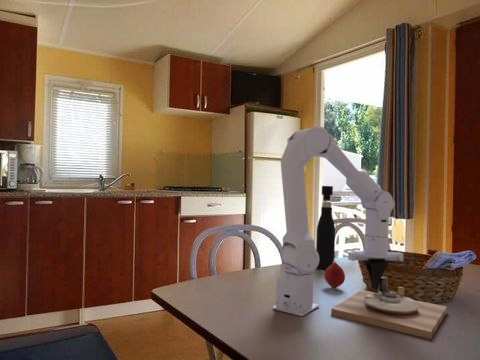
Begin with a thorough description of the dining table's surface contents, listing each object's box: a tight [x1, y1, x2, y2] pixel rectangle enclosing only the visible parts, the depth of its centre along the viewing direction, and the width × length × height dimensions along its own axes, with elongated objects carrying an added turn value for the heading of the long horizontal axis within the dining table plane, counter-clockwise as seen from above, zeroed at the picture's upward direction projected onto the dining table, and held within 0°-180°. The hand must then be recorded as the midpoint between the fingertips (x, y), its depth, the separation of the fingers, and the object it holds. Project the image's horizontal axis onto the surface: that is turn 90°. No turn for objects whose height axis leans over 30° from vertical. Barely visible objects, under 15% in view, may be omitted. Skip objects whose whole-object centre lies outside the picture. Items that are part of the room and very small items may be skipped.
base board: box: [331, 286, 448, 340], centre depth 91 cm, size 21×21×5 cm
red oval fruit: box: [323, 260, 346, 290], centre depth 112 cm, size 6×6×8 cm
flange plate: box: [364, 276, 419, 314], centre depth 93 cm, size 16×12×4 cm
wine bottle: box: [315, 185, 336, 272], centre depth 139 cm, size 6×6×30 cm
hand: (374, 287), depth 100 cm, fingers closed
